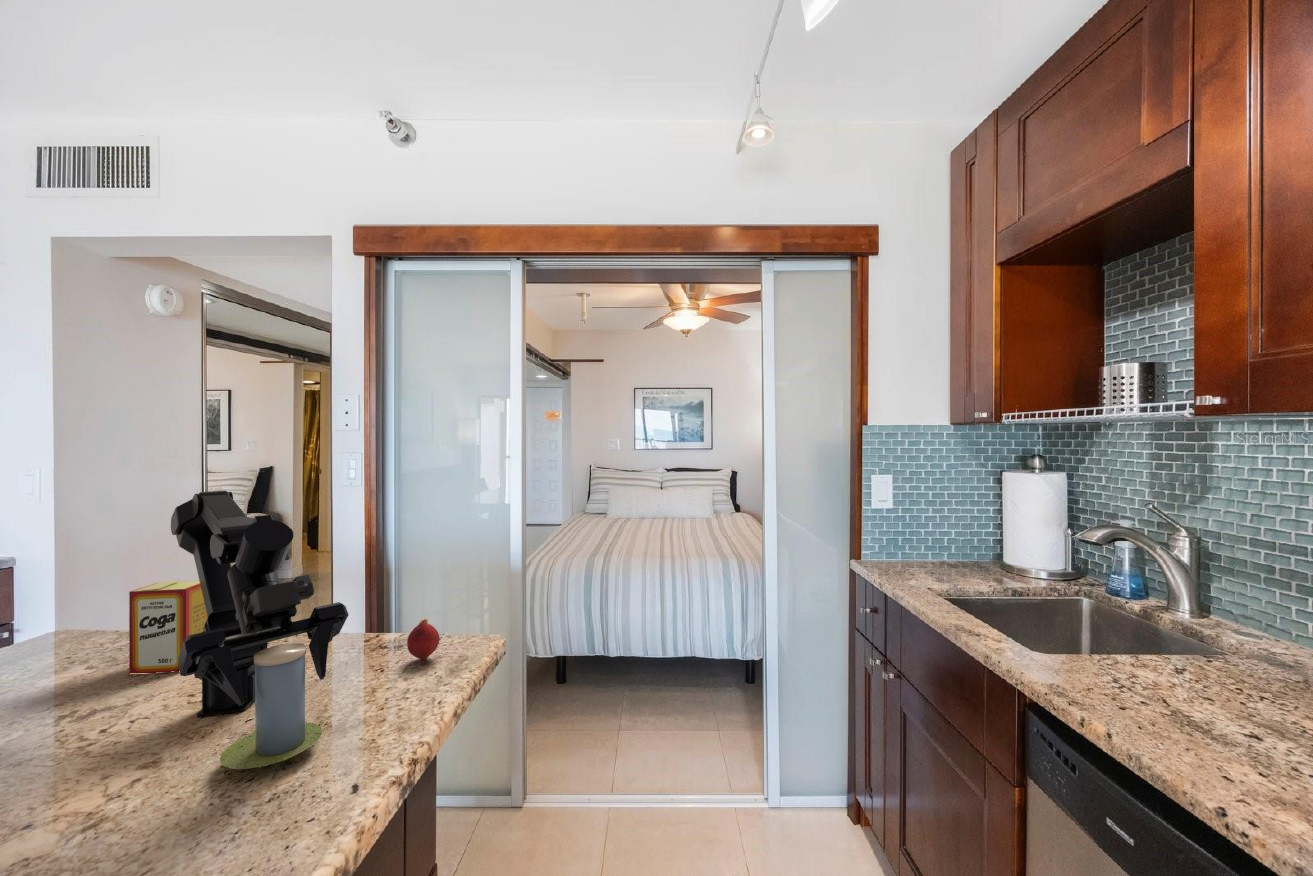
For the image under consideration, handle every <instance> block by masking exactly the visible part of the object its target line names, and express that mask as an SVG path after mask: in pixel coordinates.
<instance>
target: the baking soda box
mask: <svg viewBox="0 0 1313 876" xmlns="http://www.w3.org/2000/svg"><path fill="white" fill-rule="evenodd" d="M128 595H129V598H128V599H129V602H128V605H129V612H128V613H129V614H128V617H129V618H128V621H129V622H128V623H129V625H128V626H129V627H128V628H129V629H128V630H129V631H128V632H129V633H128V634H129V636H128V640H129V642H128V643H129V644H128V645H129V646H128V647H129V650H128V653H129V656H128V659H129V661H128V662H129V664H128V665H129V667H128V668H129V673H128V674H130V673H156V672H170V673H172V672H171V671H179V665H178V658H179V654H180V651H181V647H182V644H183V641H184V640H185V639H186V638H187V637H188V635H193V634H197V633H202V631H203V628H204V625H205V623H206V621H207V619H208V615H207V611H206V607H205V602H204V598H203V594H202V589H201V585H200V581H199V580H188V581H187V580H185V581H184V580H183V581H182V580H171V581H164V582H163V581H162V582H161V581H160V582H155V583H152V584H148V585H146V586H143V587H139V588H137V589H134V590H131V591H129V594H128ZM156 674H157V673H156Z"/></svg>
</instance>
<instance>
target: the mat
mask: <svg viewBox="0 0 1313 876" xmlns="http://www.w3.org/2000/svg"><path fill="white" fill-rule="evenodd" d="M322 735H323V729H322V727H321V726H320V725H319V724H316V723H314V722H306V721H305V740H304V742H303V743H302V744H300V745H299V746H297V747H296V748H294V749H292V750H290V751H287V752H284V753H281V754H277V755H272V756H261V755H258V754H256V735H255V732H252V733H250V734H248V735H246V736H243V737H242V738H240V739H238V740H236V741H235V742H233V743H232V744H230V745H229V746H228V747H226V748H225V750H224V751H222V753H221V754H220V757H219V762H220V764H221V765H222V766H223V767H225V768H229V769H233V770H246V769H253V768H254V769H255V768H262V767H268V766H269V765H275V764H277V763H281V762H282V761H286V760H289V759H291V758H293V757H295V756H297V755H299V754H301V753H303V752H304V751H305V750H307V749H309V748H311V747H312V746H313V745H314V744H316V743H317V742H318V741H319V739H320V738H321V736H322Z"/></svg>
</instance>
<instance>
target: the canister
mask: <svg viewBox="0 0 1313 876" xmlns="http://www.w3.org/2000/svg"><path fill="white" fill-rule="evenodd" d="M306 654H307V645H306V644H304V643H302V642H301V643H300V642H297V643H296V642H291V643H284V644H278V645H272V646H270V647H267V648H266V649H264V650H261V651H259V652H257V653H256V654H255V655H254V664H255V700H254V702H255V705H254V706H255V713H254V715H255V716H254V717H255V727H254V728H255V732H254V733H255V735H256V754H258V755H261V756H272V755H277V754H281V753H284V752H287V751H290V750H292V749H294V748H296V747H297V746H299V745H300V744H302V743H303V742H304V740H305V722H306Z"/></svg>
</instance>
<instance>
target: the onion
mask: <svg viewBox="0 0 1313 876" xmlns="http://www.w3.org/2000/svg"><path fill="white" fill-rule="evenodd" d="M440 640H441V639H440V634H439V632H438V630H437V628H436V627H434V626H433V625H432V624H430V623H429V622H428V619H427V618H422V619H421V620H420V621H419V623H418V624H417V625H416V626H415V627H414V628H413V629H412V631H410V632H409V634H408V637H407V641H406V645H407V646H406V647H407V651H408V652H409V654H410V655H411V656H413V657H415V658H416V659H419V660H421V661H425V659H426V660H427V659H428V658H429V657H430V656H431V655H433V653H434V652H435V651H436V650H437V648H438V646H439V644H440Z"/></svg>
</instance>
